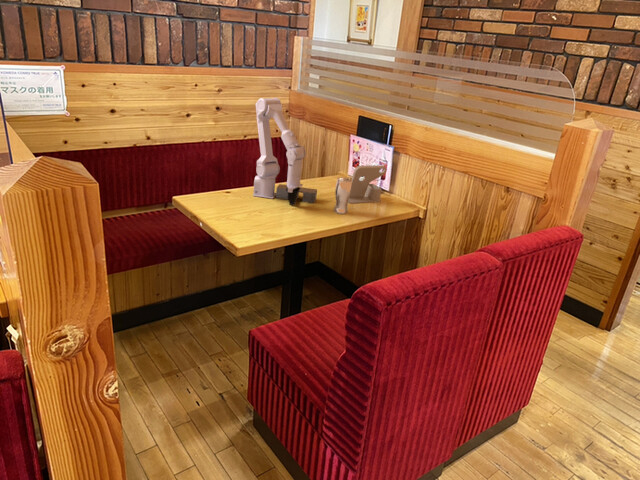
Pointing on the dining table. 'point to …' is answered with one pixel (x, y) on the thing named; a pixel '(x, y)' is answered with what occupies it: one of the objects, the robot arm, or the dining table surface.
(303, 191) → the block
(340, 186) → the beer glass
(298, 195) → the plug
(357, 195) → the phone holder
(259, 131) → the robot arm
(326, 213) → the dining table surface
